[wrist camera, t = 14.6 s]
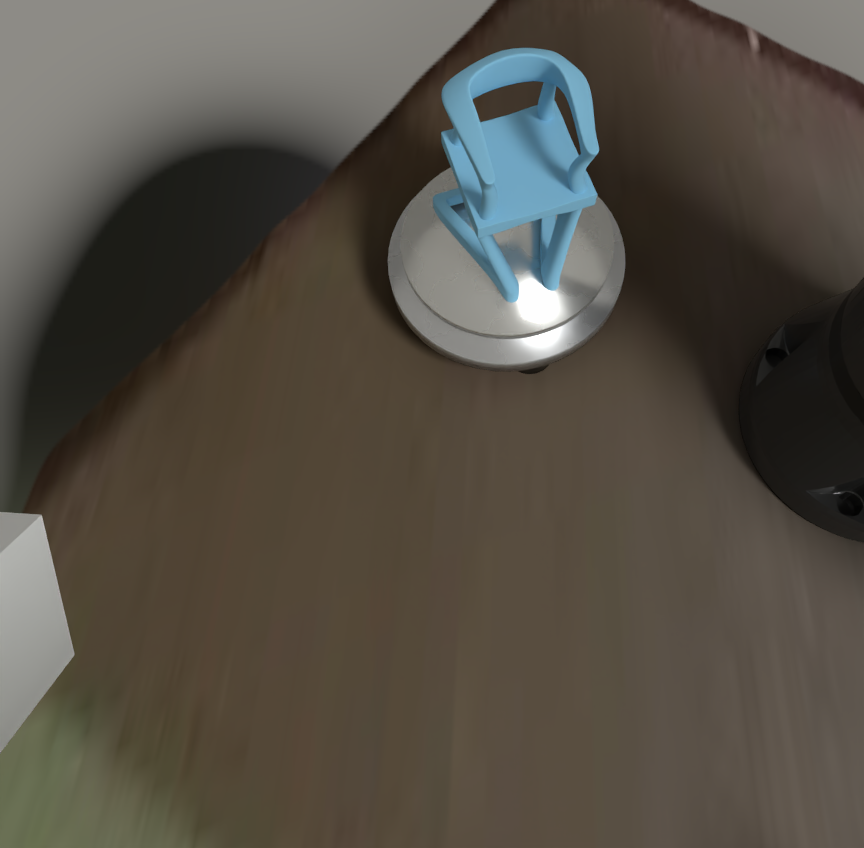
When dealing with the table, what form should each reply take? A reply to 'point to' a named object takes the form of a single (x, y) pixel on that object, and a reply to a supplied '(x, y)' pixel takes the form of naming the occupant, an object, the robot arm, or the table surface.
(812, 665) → the table surface
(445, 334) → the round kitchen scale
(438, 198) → the chair
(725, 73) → the table surface
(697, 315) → the table surface
